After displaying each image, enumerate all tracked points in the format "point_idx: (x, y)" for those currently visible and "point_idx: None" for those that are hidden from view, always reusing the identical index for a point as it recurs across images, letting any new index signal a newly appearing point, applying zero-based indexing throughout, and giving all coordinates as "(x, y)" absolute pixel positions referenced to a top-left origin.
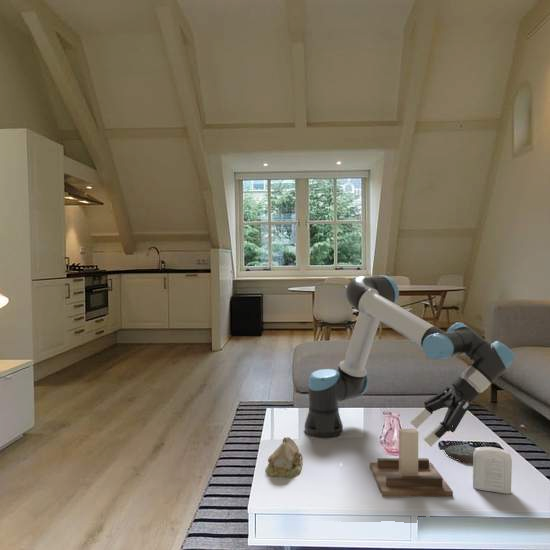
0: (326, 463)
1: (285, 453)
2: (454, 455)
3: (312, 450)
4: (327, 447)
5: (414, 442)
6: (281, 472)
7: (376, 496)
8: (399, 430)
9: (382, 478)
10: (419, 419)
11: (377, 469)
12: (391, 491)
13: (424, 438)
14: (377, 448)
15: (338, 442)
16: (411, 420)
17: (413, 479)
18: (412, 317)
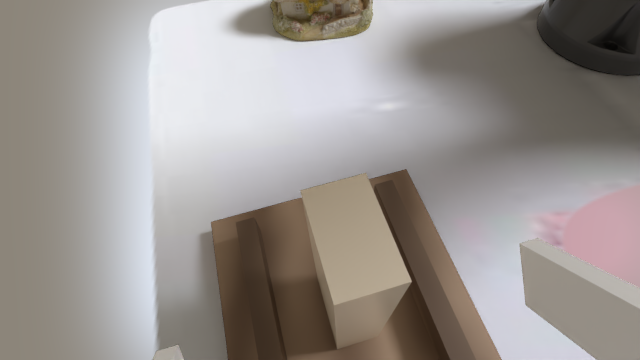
0: (377, 76)
1: None
2: None
3: (442, 37)
4: (484, 61)
5: (327, 295)
6: (277, 10)
7: (214, 213)
8: (353, 180)
9: (298, 216)
10: (585, 312)
11: None
12: (214, 249)
13: (172, 352)
14: (576, 188)
15: (540, 78)
16: (549, 244)
17: (253, 322)
18: None
